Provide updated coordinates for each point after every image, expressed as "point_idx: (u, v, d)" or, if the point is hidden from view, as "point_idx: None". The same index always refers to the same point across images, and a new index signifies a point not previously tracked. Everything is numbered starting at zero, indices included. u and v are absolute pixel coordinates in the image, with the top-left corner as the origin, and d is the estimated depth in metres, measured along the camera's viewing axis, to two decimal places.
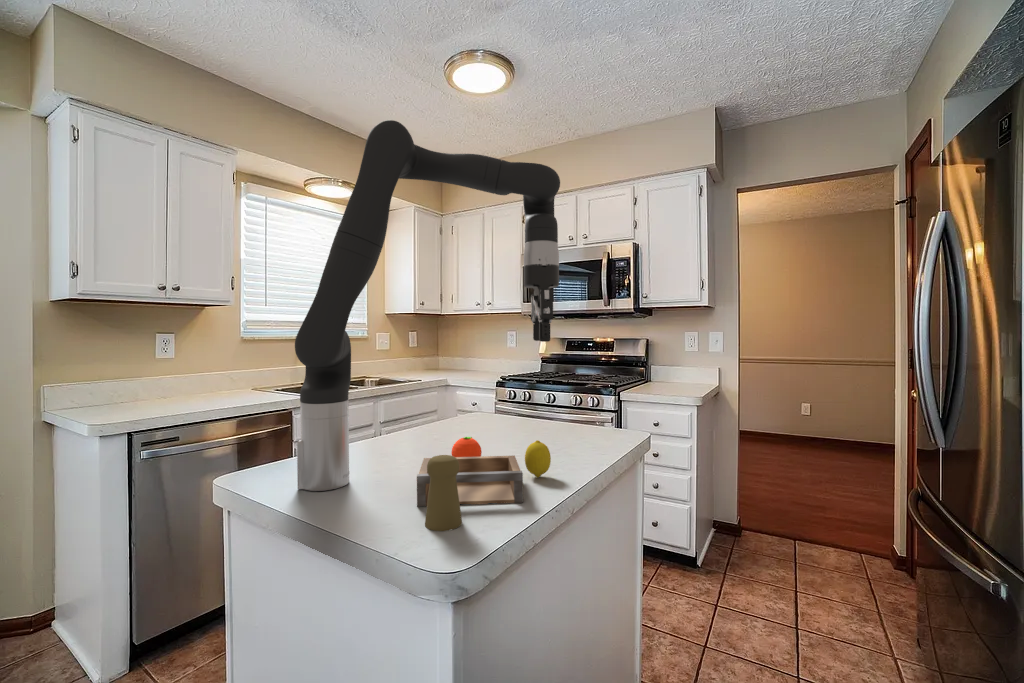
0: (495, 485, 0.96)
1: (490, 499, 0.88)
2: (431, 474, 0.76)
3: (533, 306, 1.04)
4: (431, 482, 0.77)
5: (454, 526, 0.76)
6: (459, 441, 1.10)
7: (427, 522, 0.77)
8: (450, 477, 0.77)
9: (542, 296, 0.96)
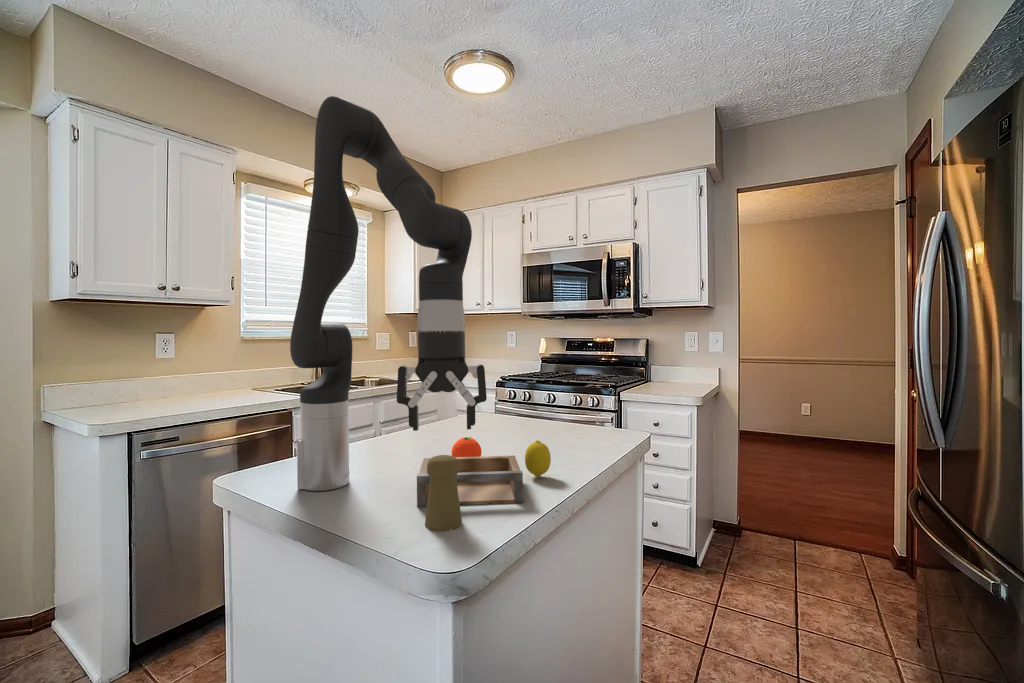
0: (495, 485, 0.96)
1: (490, 499, 0.88)
2: (431, 474, 0.76)
3: (431, 384, 0.76)
4: (431, 482, 0.77)
5: (454, 526, 0.76)
6: (459, 441, 1.10)
7: (427, 522, 0.77)
8: (450, 477, 0.77)
9: None
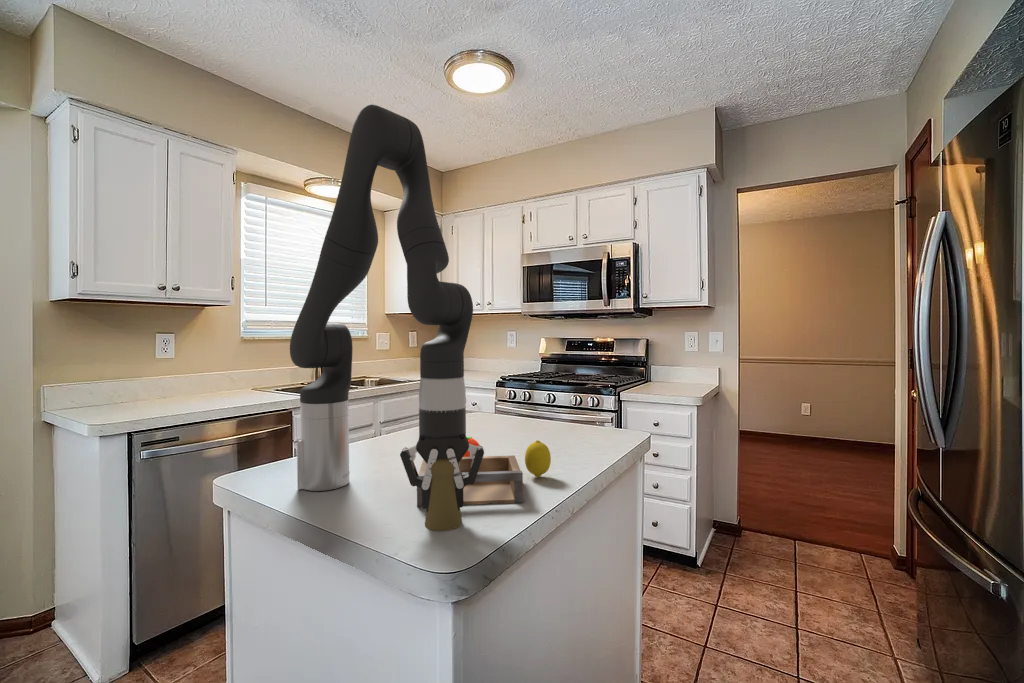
0: (495, 485, 0.96)
1: (490, 499, 0.88)
2: (431, 473, 0.76)
3: (435, 461, 0.77)
4: (431, 482, 0.77)
5: (454, 526, 0.76)
6: None
7: (427, 522, 0.77)
8: (450, 477, 0.77)
9: None
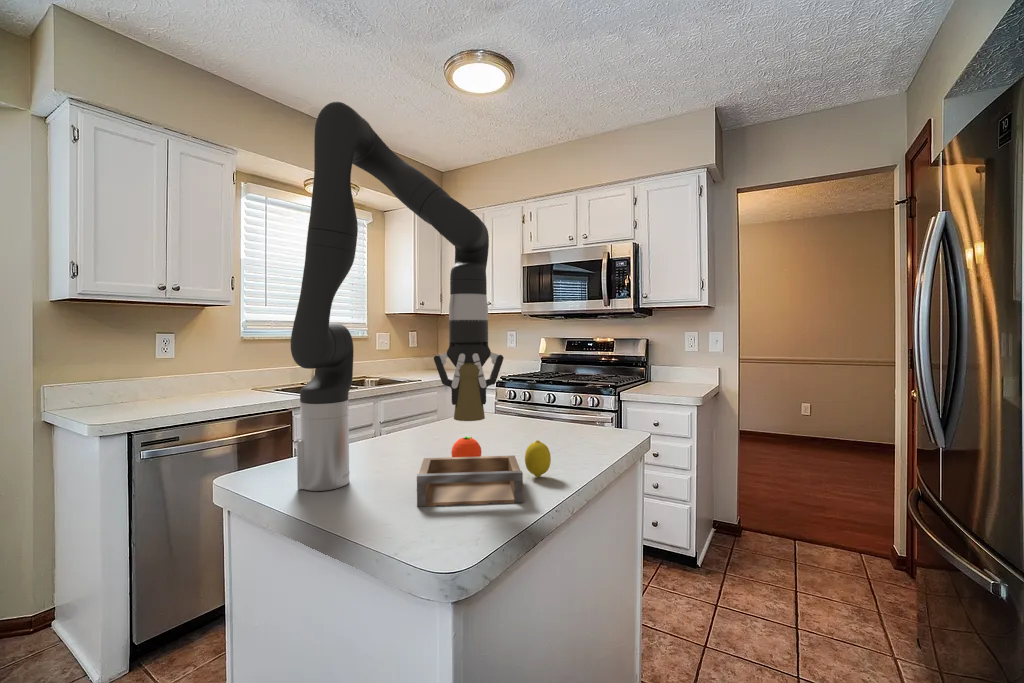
0: (495, 485, 0.96)
1: (490, 499, 0.88)
2: None
3: None
4: (459, 382, 0.92)
5: (479, 418, 0.91)
6: (459, 441, 1.10)
7: (456, 415, 0.92)
8: (475, 377, 0.92)
9: None
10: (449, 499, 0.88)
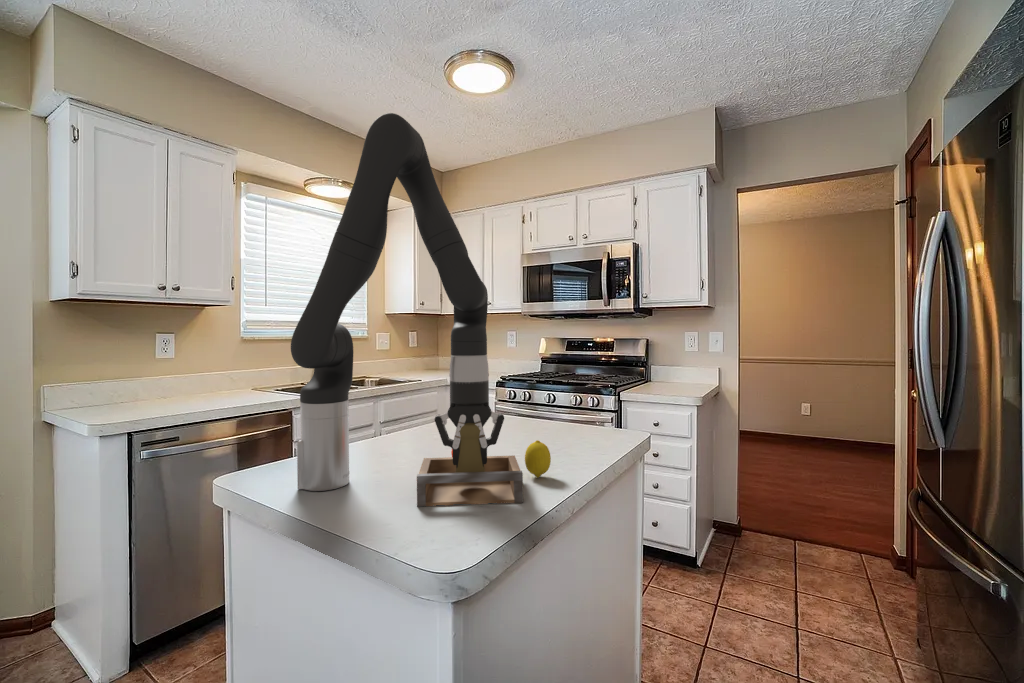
0: (495, 485, 0.96)
1: (490, 499, 0.88)
2: (460, 435, 0.92)
3: None
4: (460, 443, 0.92)
5: None
6: None
7: None
8: (476, 438, 0.92)
9: None
10: (449, 499, 0.88)
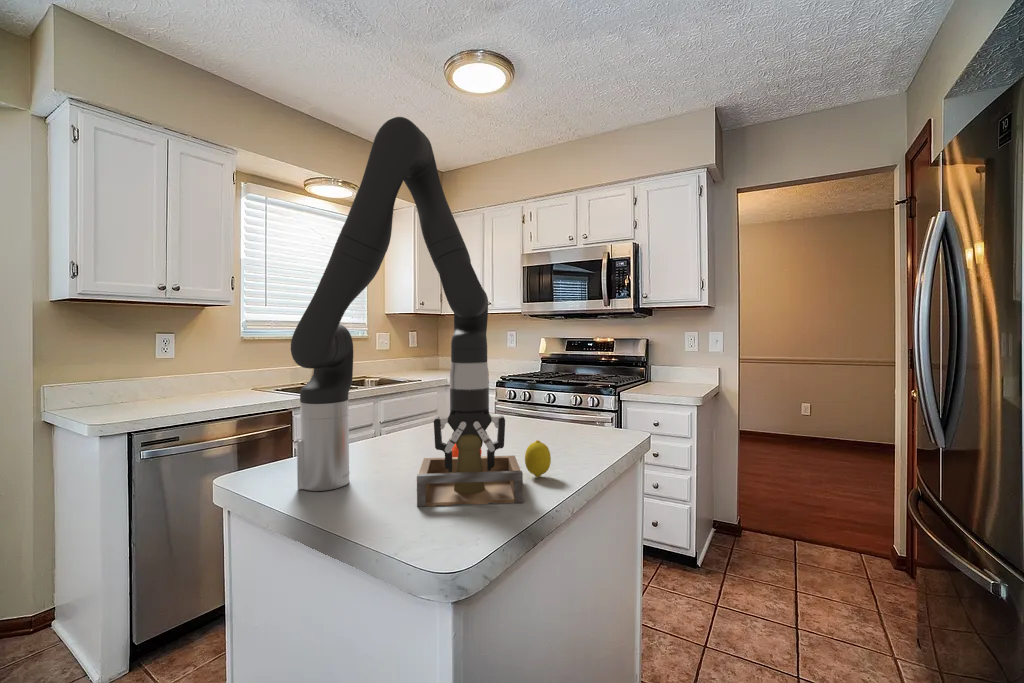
0: (495, 485, 0.96)
1: (490, 499, 0.88)
2: (459, 446, 0.92)
3: (461, 432, 0.92)
4: (459, 454, 0.93)
5: (478, 490, 0.92)
6: None
7: (456, 487, 0.92)
8: (475, 449, 0.92)
9: None
10: (449, 499, 0.88)
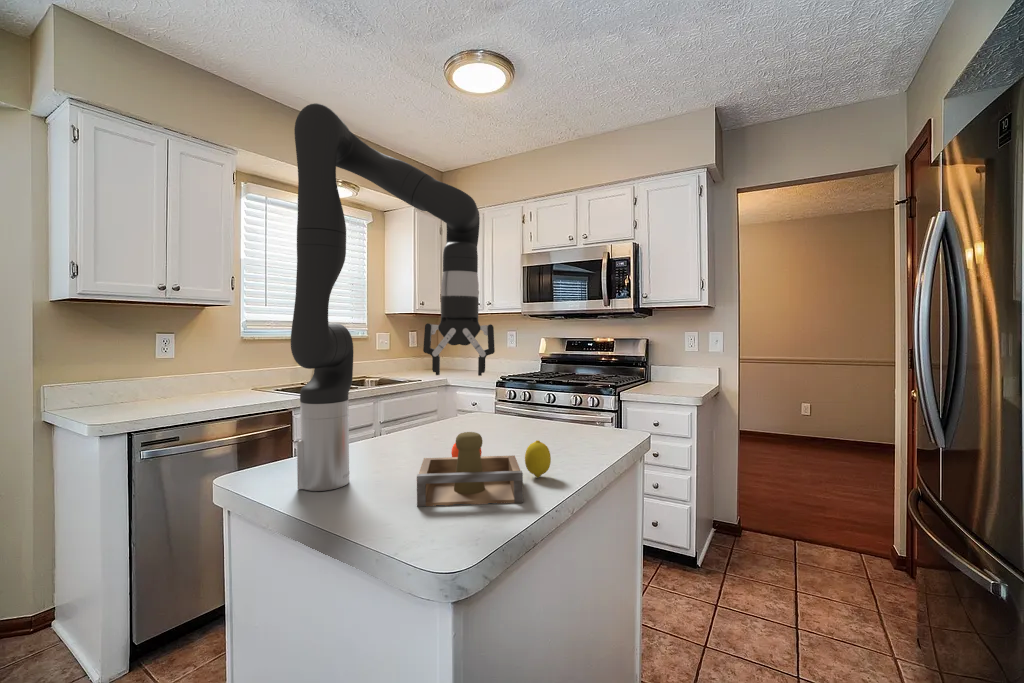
0: (495, 485, 0.96)
1: (490, 499, 0.88)
2: (459, 447, 0.92)
3: (450, 338, 0.96)
4: (459, 454, 0.93)
5: (478, 490, 0.92)
6: None
7: (456, 487, 0.92)
8: (475, 449, 0.92)
9: None
10: (449, 499, 0.88)
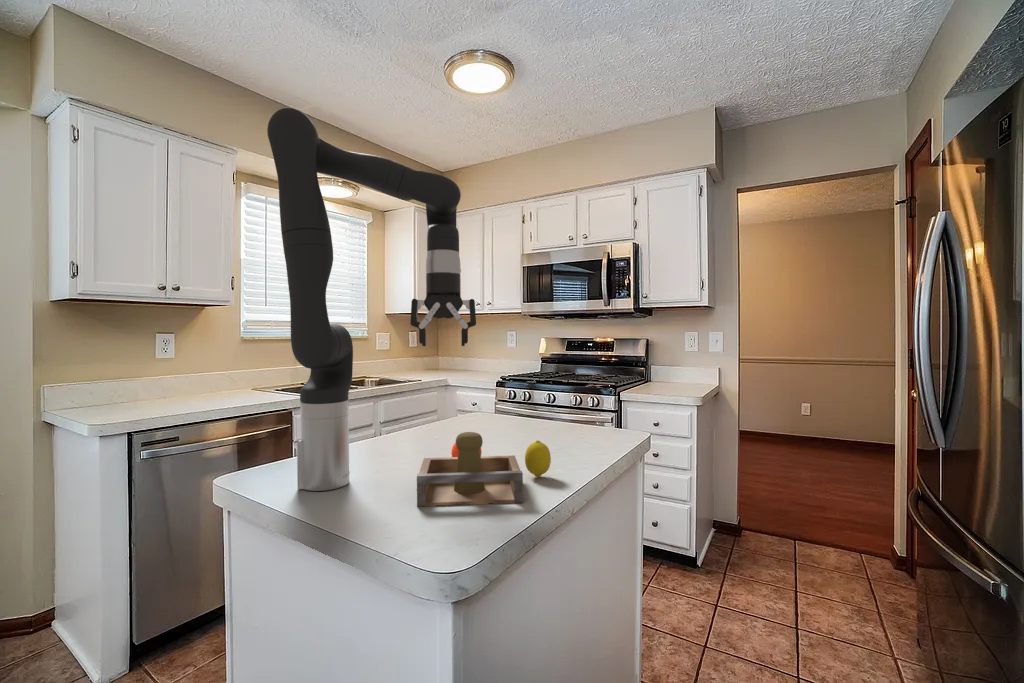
0: (495, 485, 0.96)
1: (490, 499, 0.88)
2: (459, 447, 0.92)
3: (435, 312, 1.05)
4: (459, 454, 0.93)
5: (478, 490, 0.92)
6: None
7: (456, 487, 0.92)
8: (475, 449, 0.92)
9: (474, 305, 1.06)
10: (449, 499, 0.88)
